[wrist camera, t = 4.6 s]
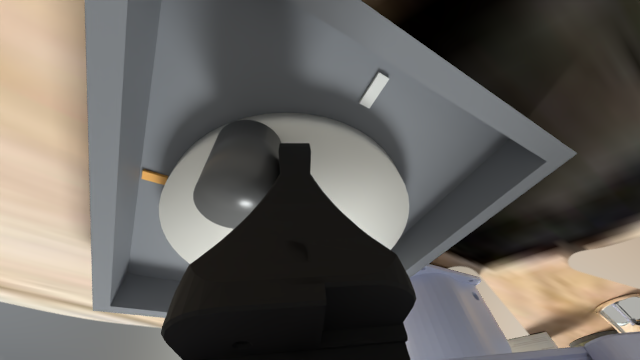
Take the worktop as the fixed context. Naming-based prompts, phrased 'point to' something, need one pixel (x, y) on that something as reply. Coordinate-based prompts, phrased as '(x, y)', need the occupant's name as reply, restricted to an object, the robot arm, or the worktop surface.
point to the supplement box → (532, 343)
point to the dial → (262, 171)
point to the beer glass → (622, 313)
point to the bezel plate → (283, 97)
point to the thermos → (590, 338)
